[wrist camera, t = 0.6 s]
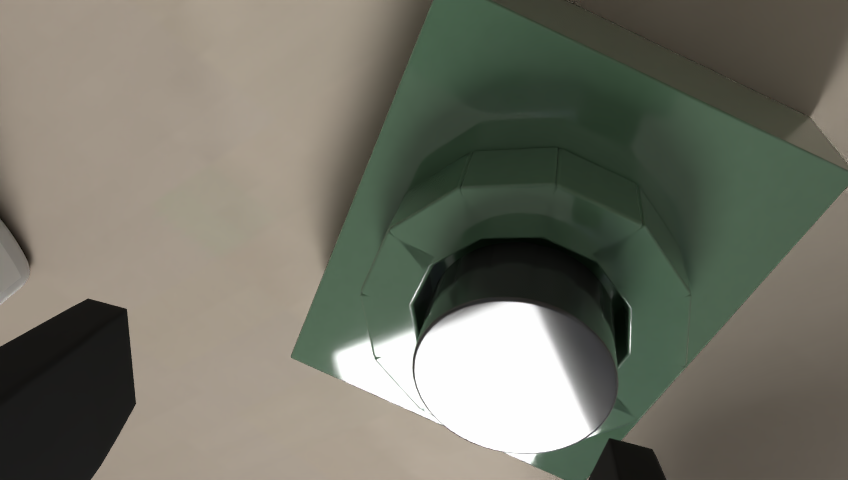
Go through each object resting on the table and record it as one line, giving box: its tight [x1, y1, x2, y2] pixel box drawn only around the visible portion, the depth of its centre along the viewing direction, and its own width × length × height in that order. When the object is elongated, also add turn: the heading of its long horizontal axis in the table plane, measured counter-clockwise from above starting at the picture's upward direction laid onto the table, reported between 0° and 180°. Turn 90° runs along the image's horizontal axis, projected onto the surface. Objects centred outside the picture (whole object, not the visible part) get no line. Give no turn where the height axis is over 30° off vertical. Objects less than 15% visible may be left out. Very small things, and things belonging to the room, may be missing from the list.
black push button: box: [412, 242, 619, 454], centre depth 14 cm, size 4×4×2 cm
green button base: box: [291, 0, 848, 480], centre depth 17 cm, size 11×9×5 cm
